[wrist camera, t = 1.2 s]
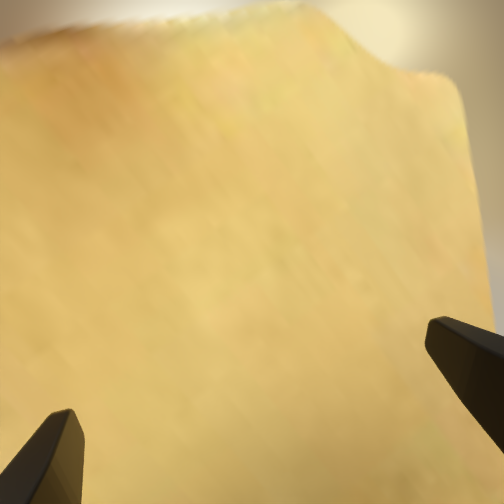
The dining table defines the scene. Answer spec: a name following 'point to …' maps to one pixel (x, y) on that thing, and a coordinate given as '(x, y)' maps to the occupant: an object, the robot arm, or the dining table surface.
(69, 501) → the robot arm
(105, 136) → the dining table surface
